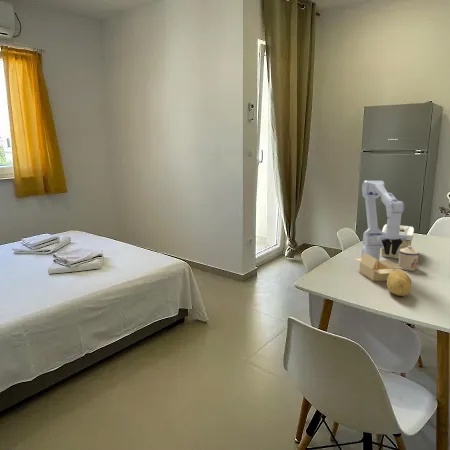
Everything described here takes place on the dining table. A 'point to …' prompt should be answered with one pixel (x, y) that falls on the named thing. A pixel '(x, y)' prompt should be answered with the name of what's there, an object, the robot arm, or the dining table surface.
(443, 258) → the dining table surface
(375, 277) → the carton
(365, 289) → the dining table surface
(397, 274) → the potato
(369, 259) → the flap
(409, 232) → the storage basket
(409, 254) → the teacup with lid
